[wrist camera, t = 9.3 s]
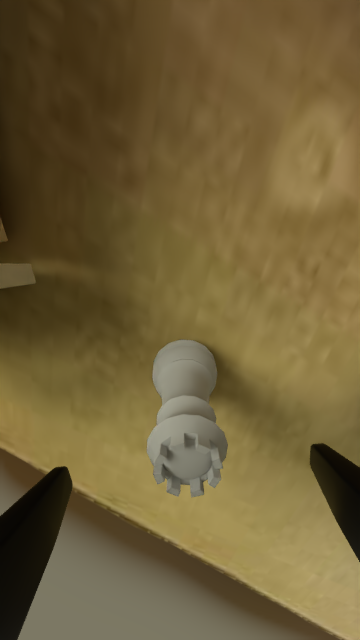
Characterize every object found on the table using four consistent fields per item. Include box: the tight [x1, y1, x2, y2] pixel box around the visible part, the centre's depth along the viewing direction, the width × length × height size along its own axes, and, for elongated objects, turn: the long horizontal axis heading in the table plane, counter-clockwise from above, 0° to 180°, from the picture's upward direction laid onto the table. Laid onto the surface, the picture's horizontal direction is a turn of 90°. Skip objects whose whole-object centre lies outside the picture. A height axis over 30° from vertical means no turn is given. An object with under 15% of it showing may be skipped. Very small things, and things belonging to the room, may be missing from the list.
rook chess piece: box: [147, 340, 228, 497], centre depth 11 cm, size 4×4×8 cm
